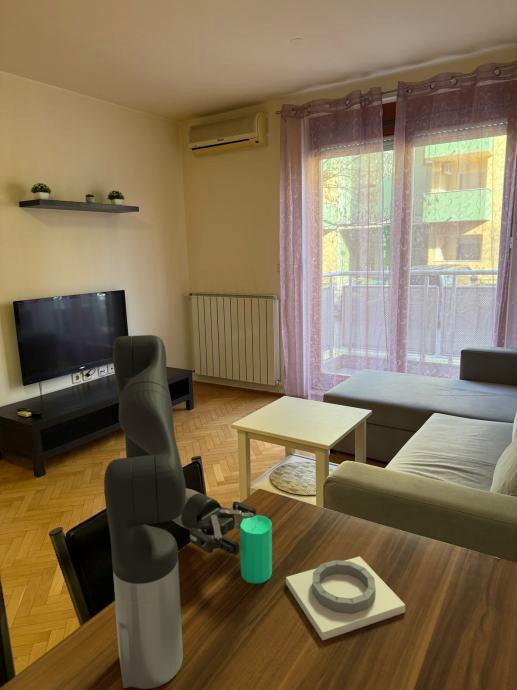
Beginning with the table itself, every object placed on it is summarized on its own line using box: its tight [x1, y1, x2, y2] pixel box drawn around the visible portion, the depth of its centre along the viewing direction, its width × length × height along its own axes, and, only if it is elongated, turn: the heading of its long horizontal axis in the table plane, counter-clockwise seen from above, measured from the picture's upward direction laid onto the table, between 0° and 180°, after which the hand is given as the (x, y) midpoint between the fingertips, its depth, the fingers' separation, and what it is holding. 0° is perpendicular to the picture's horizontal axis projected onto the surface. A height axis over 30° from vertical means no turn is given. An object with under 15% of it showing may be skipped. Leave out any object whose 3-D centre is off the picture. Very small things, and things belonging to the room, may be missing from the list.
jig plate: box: [285, 555, 406, 641], centre depth 85 cm, size 16×14×4 cm
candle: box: [239, 514, 273, 584], centre depth 91 cm, size 6×6×12 cm
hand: (252, 538), depth 92 cm, fingers open, 8 cm apart
